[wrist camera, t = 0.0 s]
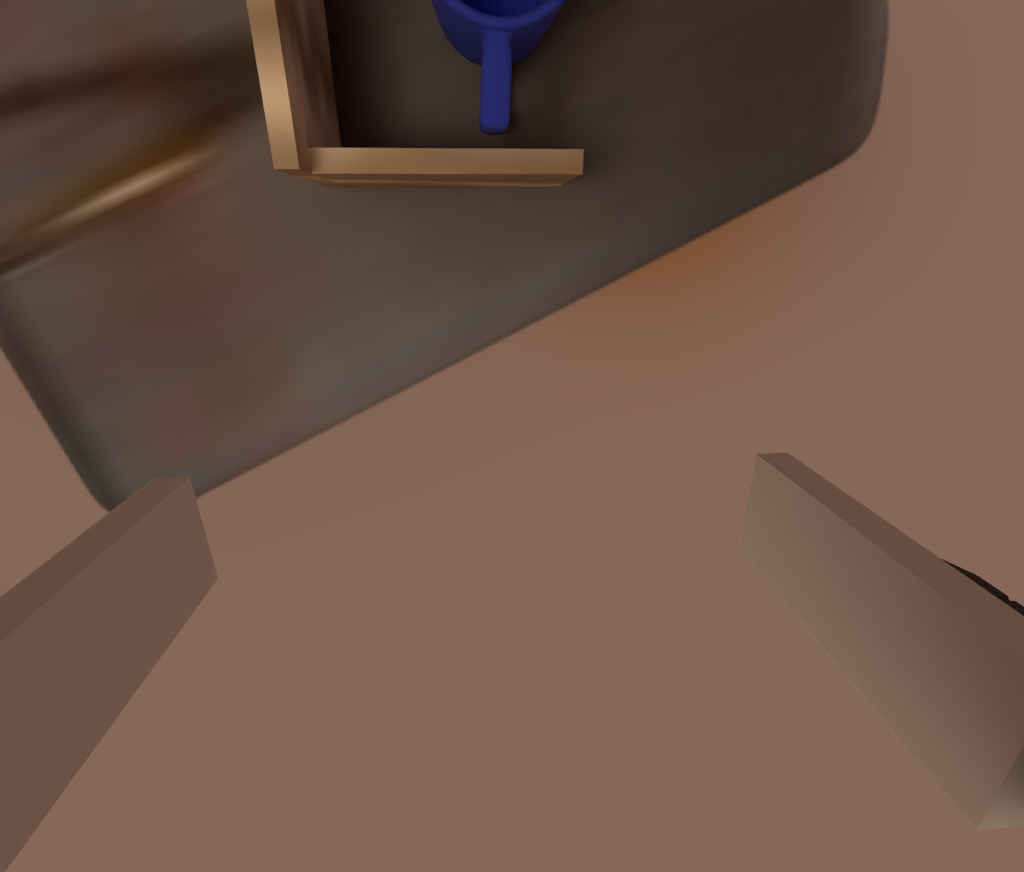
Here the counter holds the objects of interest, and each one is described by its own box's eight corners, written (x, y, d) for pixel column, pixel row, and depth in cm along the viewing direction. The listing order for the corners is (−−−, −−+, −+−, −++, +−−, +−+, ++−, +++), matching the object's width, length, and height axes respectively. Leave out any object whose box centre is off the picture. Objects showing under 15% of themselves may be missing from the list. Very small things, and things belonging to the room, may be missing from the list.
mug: (426, 149, 33) (410, 118, 24) (423, -89, 29) (401, -242, 19) (548, 158, 34) (578, 130, 25) (563, -74, 29) (607, -214, 20)
